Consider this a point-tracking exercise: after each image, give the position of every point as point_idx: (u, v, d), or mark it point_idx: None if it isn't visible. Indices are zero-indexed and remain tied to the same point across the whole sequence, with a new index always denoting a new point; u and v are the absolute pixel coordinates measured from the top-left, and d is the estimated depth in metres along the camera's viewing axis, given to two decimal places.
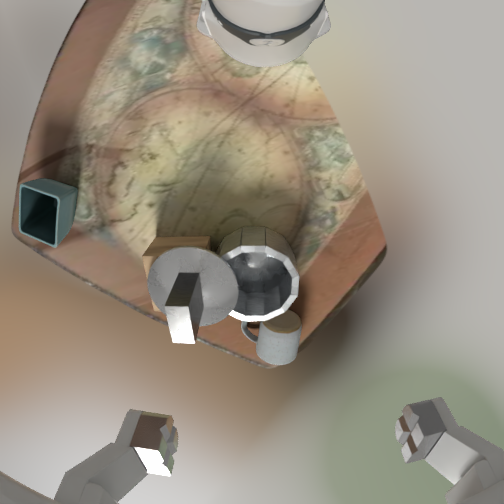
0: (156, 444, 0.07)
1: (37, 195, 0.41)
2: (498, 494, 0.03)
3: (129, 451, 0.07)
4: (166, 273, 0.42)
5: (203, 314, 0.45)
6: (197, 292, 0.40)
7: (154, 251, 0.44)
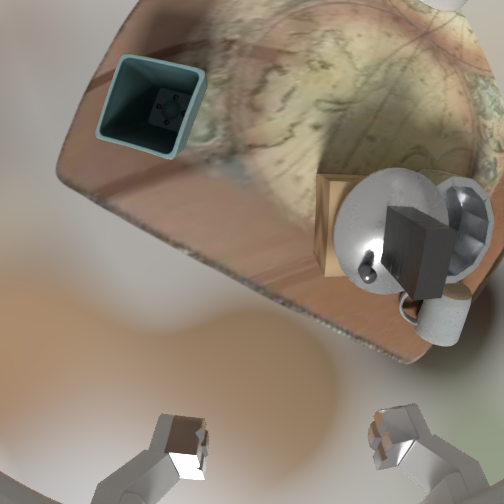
0: (193, 449, 0.07)
1: (133, 92, 0.27)
2: (498, 494, 0.03)
3: (165, 457, 0.07)
4: (370, 207, 0.27)
5: None
6: None
7: (340, 179, 0.29)
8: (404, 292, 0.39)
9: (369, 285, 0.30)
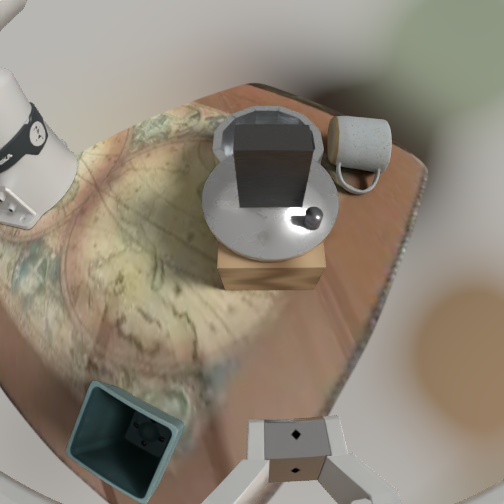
0: (293, 451, 0.07)
1: (117, 460, 0.22)
2: (498, 494, 0.03)
3: (266, 464, 0.07)
4: (241, 224, 0.28)
5: (313, 184, 0.30)
6: None
7: None
8: (348, 190, 0.39)
9: (329, 215, 0.28)
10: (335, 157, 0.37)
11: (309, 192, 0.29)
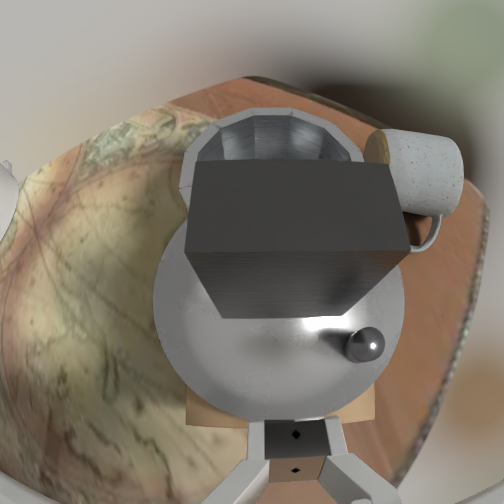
0: (293, 451, 0.07)
1: None
2: (498, 494, 0.03)
3: (266, 464, 0.07)
4: (226, 354, 0.14)
5: None
6: None
7: None
8: None
9: (389, 329, 0.14)
10: None
11: None
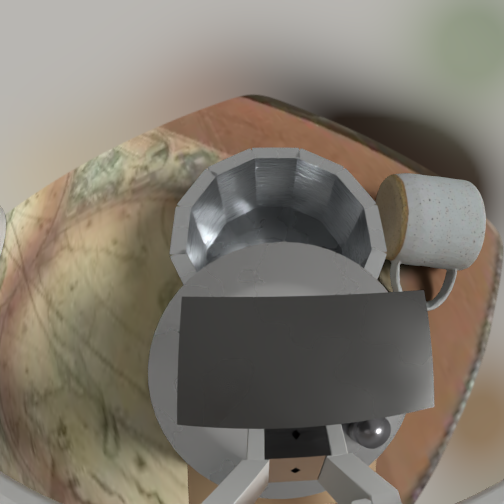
0: (293, 451, 0.07)
1: None
2: (498, 494, 0.03)
3: (266, 464, 0.07)
4: (227, 438, 0.12)
5: None
6: None
7: None
8: None
9: None
10: (394, 255, 0.21)
11: None
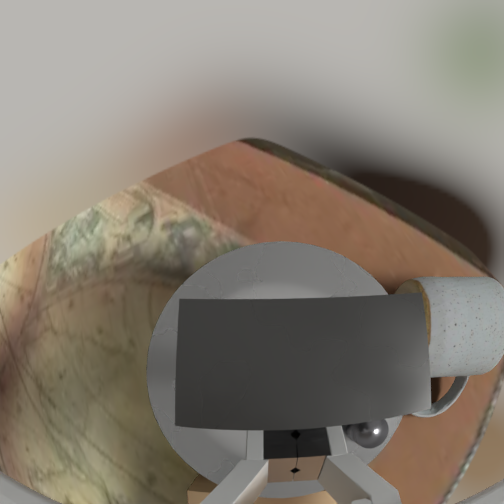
0: (292, 451, 0.07)
1: None
2: (498, 494, 0.03)
3: (265, 464, 0.07)
4: (225, 437, 0.12)
5: None
6: None
7: None
8: None
9: None
10: None
11: None
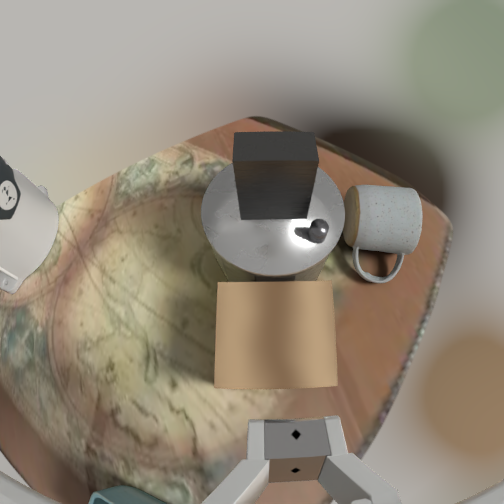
0: (293, 451, 0.07)
1: None
2: (498, 494, 0.03)
3: (266, 464, 0.07)
4: (242, 237, 0.27)
5: (318, 194, 0.28)
6: None
7: None
8: (365, 279, 0.32)
9: (335, 227, 0.27)
10: (353, 242, 0.31)
11: (314, 202, 0.28)
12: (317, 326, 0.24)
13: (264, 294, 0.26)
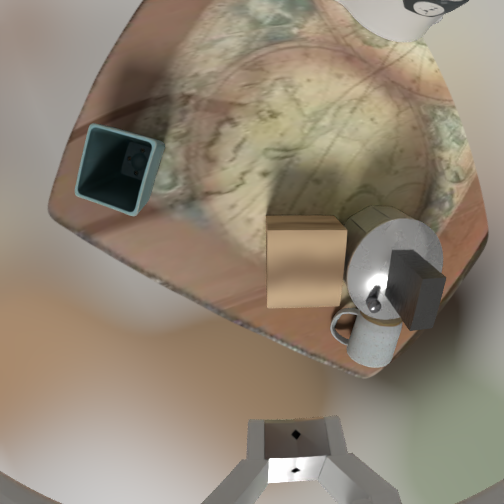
0: (293, 451, 0.07)
1: (105, 150, 0.33)
2: (498, 494, 0.03)
3: (266, 464, 0.07)
4: (378, 251, 0.33)
5: None
6: None
7: (279, 226, 0.35)
8: (334, 315, 0.45)
9: (374, 313, 0.36)
10: (361, 313, 0.41)
11: None
12: (308, 296, 0.37)
13: (335, 262, 0.35)
